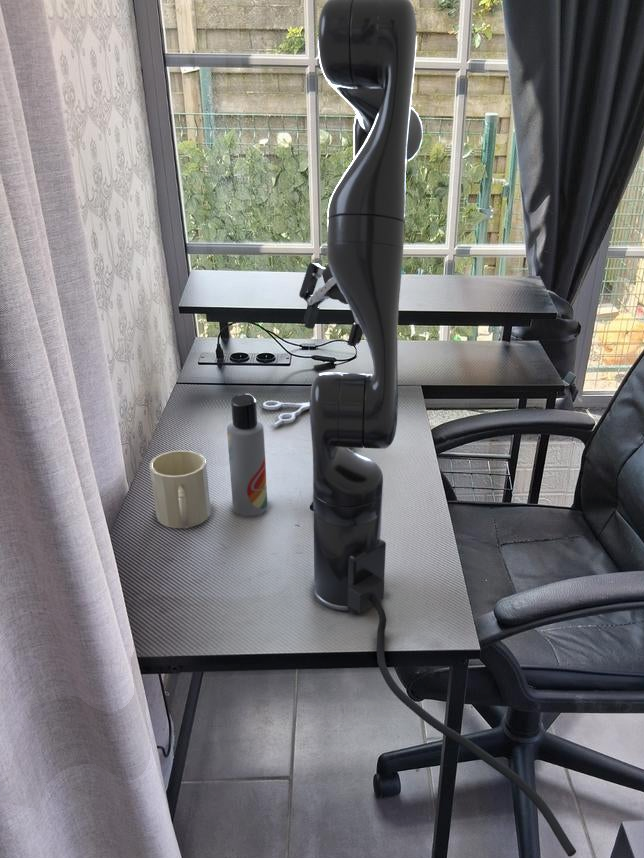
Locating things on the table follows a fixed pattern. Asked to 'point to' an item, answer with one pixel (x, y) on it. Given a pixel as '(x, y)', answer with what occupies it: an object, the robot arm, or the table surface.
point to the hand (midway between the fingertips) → (330, 336)
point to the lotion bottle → (247, 457)
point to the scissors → (279, 404)
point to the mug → (180, 488)
